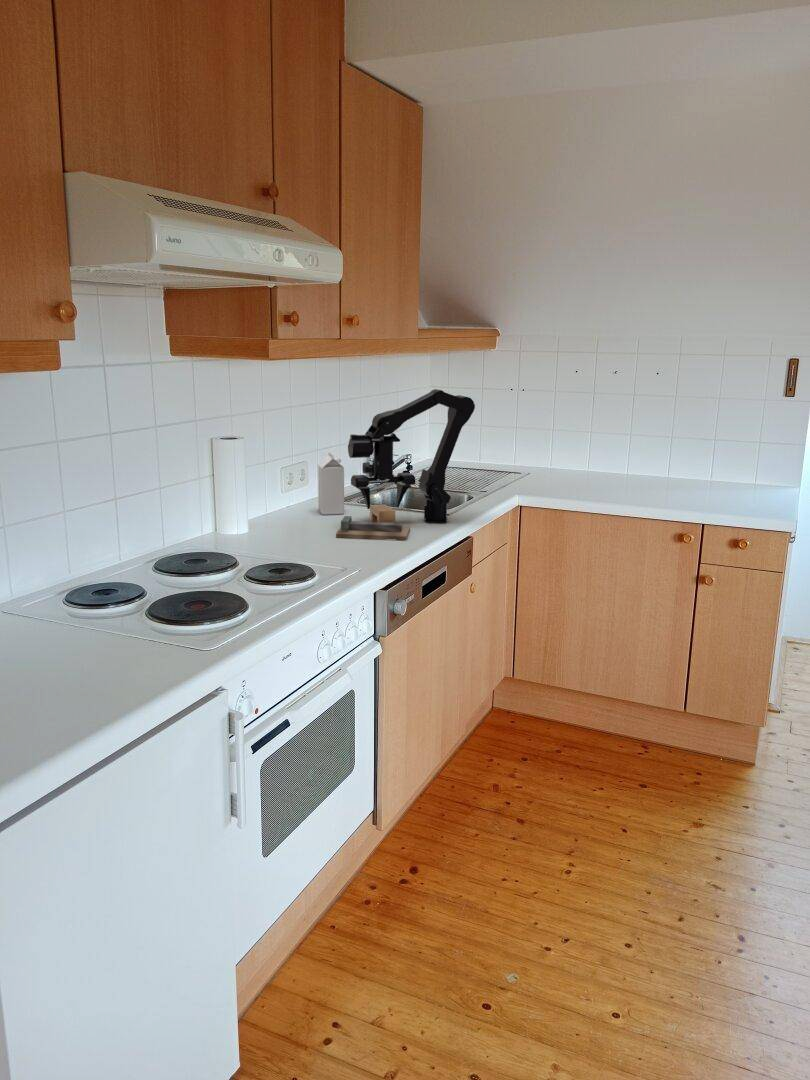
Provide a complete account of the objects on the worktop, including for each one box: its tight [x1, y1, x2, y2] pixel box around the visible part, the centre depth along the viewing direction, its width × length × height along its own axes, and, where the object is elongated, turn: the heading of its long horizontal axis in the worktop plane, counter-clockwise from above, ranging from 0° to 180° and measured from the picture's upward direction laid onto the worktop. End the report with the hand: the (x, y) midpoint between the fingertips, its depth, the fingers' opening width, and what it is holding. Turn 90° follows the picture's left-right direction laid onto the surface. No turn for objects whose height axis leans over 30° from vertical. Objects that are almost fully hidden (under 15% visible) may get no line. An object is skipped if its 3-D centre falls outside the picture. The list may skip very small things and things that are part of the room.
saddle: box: [369, 504, 396, 523], centre depth 254 cm, size 5×9×5 cm, turn 20°
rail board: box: [335, 515, 411, 541], centre depth 241 cm, size 20×12×4 cm, turn 85°
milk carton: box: [317, 451, 345, 516], centre depth 266 cm, size 7×7×19 cm
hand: (383, 508), depth 253 cm, fingers open, 9 cm apart
